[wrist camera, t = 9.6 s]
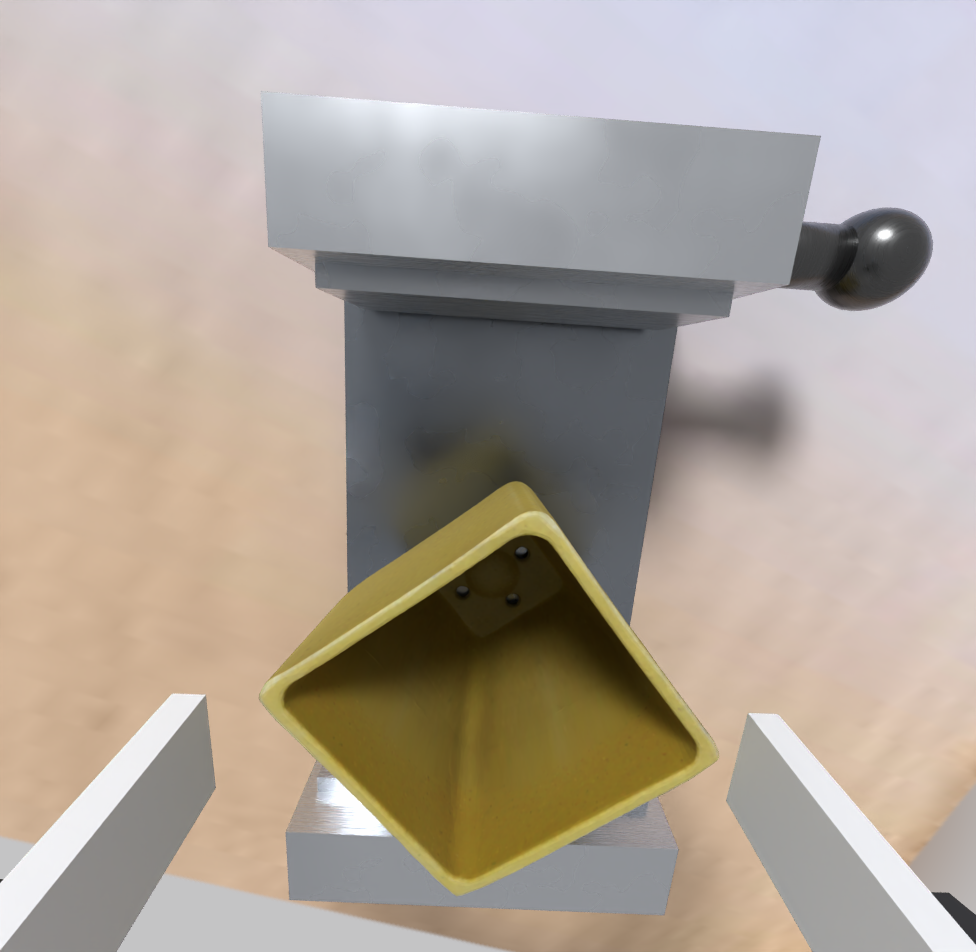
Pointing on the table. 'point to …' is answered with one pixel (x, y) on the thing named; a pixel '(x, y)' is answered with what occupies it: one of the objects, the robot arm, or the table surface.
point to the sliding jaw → (562, 215)
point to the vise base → (574, 506)
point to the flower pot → (487, 698)
